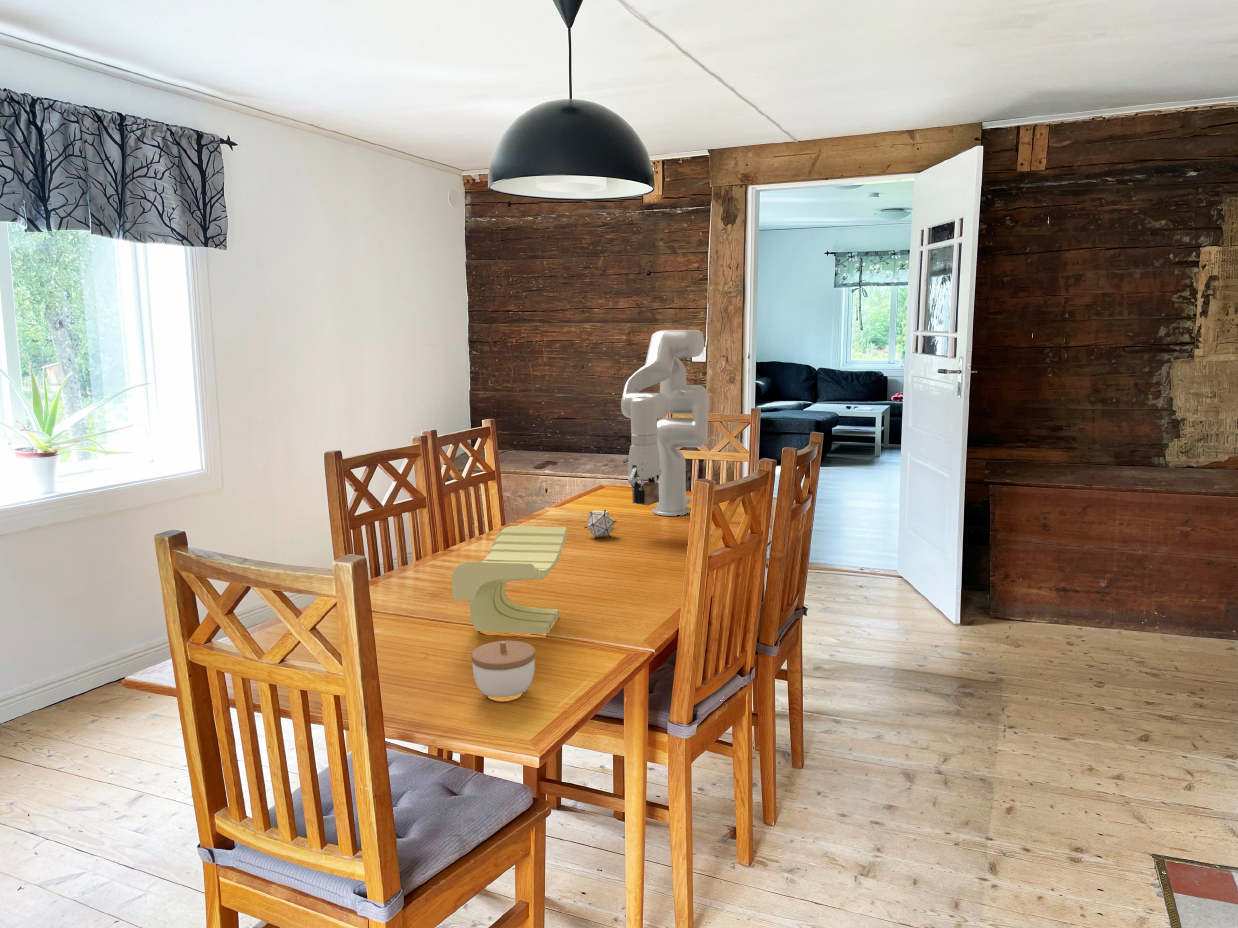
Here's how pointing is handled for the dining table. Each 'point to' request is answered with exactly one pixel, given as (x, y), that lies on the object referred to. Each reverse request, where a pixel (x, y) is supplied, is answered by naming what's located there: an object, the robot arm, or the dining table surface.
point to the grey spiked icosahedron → (597, 512)
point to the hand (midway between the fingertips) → (645, 500)
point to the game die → (600, 524)
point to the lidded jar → (503, 667)
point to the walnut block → (649, 493)
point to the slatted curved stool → (510, 579)
